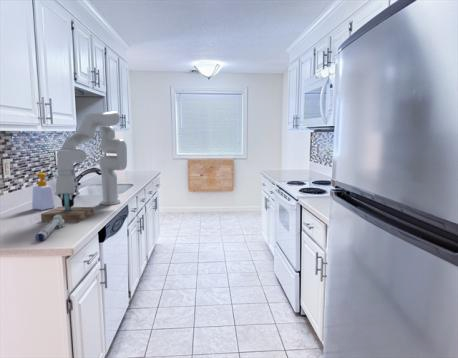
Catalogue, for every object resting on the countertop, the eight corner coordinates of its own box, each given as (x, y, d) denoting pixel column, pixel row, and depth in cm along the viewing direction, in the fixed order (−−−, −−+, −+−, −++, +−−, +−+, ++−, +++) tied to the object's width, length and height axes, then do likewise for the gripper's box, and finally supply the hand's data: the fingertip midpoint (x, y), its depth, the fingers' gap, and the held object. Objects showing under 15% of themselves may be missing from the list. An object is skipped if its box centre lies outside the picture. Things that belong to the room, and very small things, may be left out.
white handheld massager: (32, 233, 134) (53, 211, 158) (34, 248, 136) (55, 224, 160) (45, 233, 135) (64, 211, 159) (47, 247, 137) (66, 223, 161)
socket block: (59, 213, 184) (58, 206, 183) (93, 214, 183) (93, 207, 183) (41, 221, 167) (40, 214, 166) (79, 222, 166) (78, 214, 166)
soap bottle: (24, 210, 189) (21, 173, 186) (45, 206, 202) (43, 171, 199) (35, 212, 186) (32, 174, 183) (56, 207, 198) (53, 172, 195)
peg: (67, 212, 176) (65, 191, 175) (72, 212, 176) (71, 191, 174) (63, 214, 173) (62, 192, 171) (69, 214, 173) (68, 192, 171)
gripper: (84, 172, 175) (86, 205, 178) (54, 172, 175) (56, 204, 178) (77, 173, 168) (79, 208, 170) (46, 173, 168) (49, 207, 170)
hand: (67, 206), depth 174 cm, fingers closed on peg, 3 cm apart
